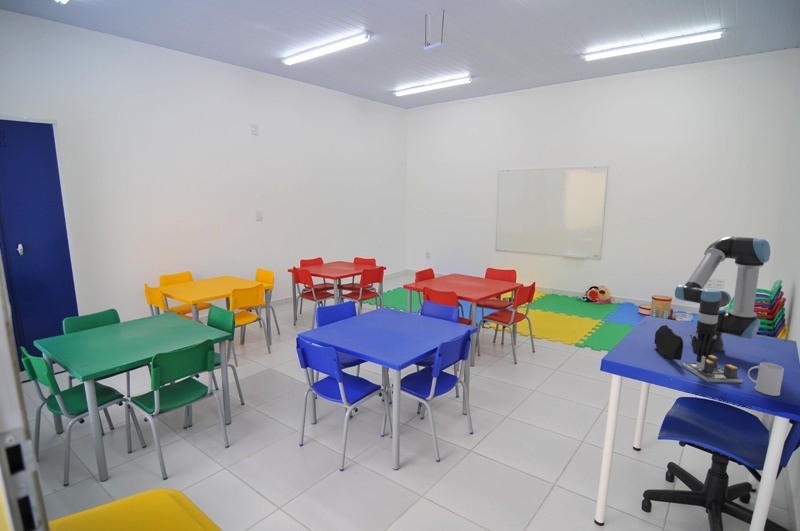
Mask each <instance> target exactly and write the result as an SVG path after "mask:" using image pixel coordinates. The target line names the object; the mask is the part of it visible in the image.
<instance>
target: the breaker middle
mask: <svg viewBox="0 0 800 531" xmlns="http://www.w3.org/2000/svg"><path fill="white" fill-rule="evenodd" d="M713 368H714V362H712V361H710V360H708V359H707V360H706V363H705V364H704V370H703V371H705V372H713Z"/></svg>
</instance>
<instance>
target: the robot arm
mask: <svg viewBox="0 0 800 531" xmlns="http://www.w3.org/2000/svg"><path fill="white" fill-rule="evenodd" d="M703 255H704V256H703V258H702V259H701V260H700V262H699V264H698V265H697V267H696V268H695V270H694V271H693V273H692V274H691V276H690V277H689V279H688V280H687V281H686V283H685V284H684V285H683V284H680V285H677V286H676V287H675V289H674V297H675V299H677V300H681V301H684V302H690V303H694V304H699V308H698V314H697V315H698V316H697V321H696V322H697V323H696V331H695V334H690V336H689V337H690V339H691V341H690V345H691V346H692V353H693V354H694V355H696V363H697V368H699V369H701V370H704V364H705V363H706V360H707V357H709V356H708V355H713V352H717V353H718V352H719V353H720V352H723V351H724V349H725V348H724V347H725V345H724V341H723V337H722V335H723V334H726V335H730V336H734V337H738V338H740V339H741V338H742V339H747V340H751V339H753V338H755V336H756V334H757V333H758V331H759V329H760V326H761V319H760V318H757V317H758V316H757V313H756V312H754V309H755V303H756V302H755V301H756V295H757V288H758V282H759V275H760V274H759V272H760V268H762V267H763V266H764V264H765V263H767V262H769V261H770V256H771V246H770V243H769V241H768V240H766V239H762V238H757V237H755V238H754V237H740V236H726V237H722V238H719V239H718V240H716V241H714V242H712V243H711V244H709V246H708V247H706V250H705V251H704V254H703ZM726 259H733V260H734V264H735V265H737V271H736V272H737V273H736V280H735V287H734V288H735V289H734V297H733V305H732V308H731V309H729V310H728V312H727V311H726V308H723V307H726V306H727V305H729V304H730V303H731V301H732V297H731V295H730V293H729V292H728V291H725V290H718V289H712V288H711V289H710V288H708V289H707V288H705V286H706V284H707V283H708V281H709V280H710V278H711V277H712V275H713V274H714V272H715V271H716V270H717V268H718V267H719V265H720V263H722V262H724V261H726Z"/></svg>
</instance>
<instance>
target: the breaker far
mask: <svg viewBox="0 0 800 531" xmlns="http://www.w3.org/2000/svg"><path fill="white" fill-rule="evenodd" d="M708 356H709V357H707V359H708V360H710V361H712V362H714V367H717V366H718V361H719V359H718V357H717V356H715V355H714V354H712V355H708Z"/></svg>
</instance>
